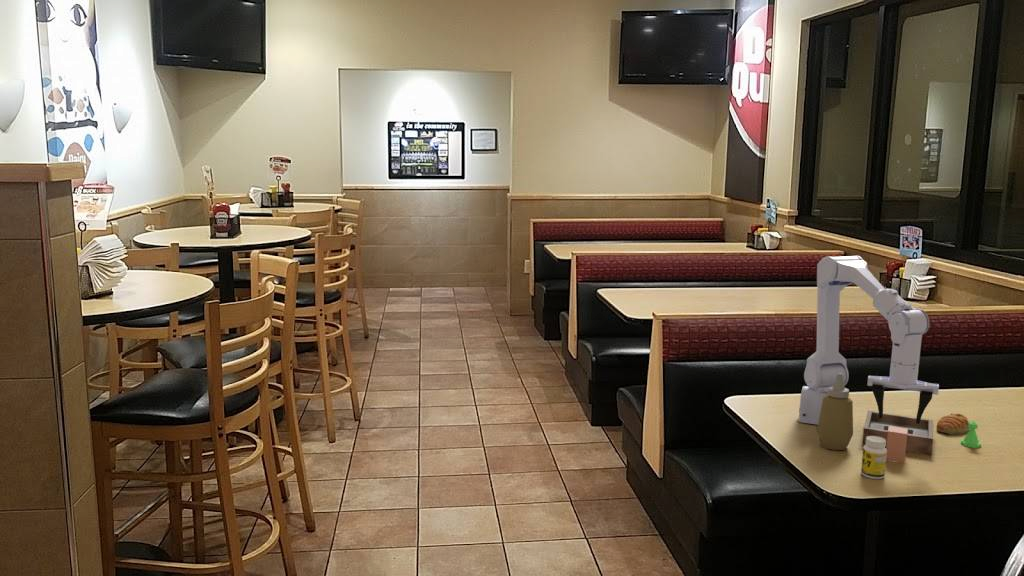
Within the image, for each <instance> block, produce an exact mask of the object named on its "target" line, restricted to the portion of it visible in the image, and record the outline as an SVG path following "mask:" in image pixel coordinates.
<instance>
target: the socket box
mask: <svg viewBox="0 0 1024 576" xmlns="http://www.w3.org/2000/svg"><path fill="white" fill-rule="evenodd" d="M916 418H917V416H916V417H914V416H910V415H909V416H908V415H907V416H906V415H901V414H895V413H889V412H888V413H887V412H883V417H882V418H879V411H873V410H867V413H866V417H865V421H864V425H863V429H862V430H863V431H862V432H863V433H862V442H861V444H862V445H866V437H867V436H878V437H882V438H884V439H885V440H886V446H887V436H888V428H889V426H893V427H900V428H906V429H908V432H907V442H906V452H909V451H911V452H910V453H915V452H917V453H916V454H921V453H922V455H927V456H932V454H933V453H932V452H933V443H934V419H931V418H922V417H921V419H920V424H917V423H916Z"/></svg>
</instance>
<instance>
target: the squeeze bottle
mask: <svg viewBox="0 0 1024 576" xmlns="http://www.w3.org/2000/svg"><path fill="white" fill-rule="evenodd" d="M849 396H850V390H849V388H846V387H845V386H844V380H843V374H840V373H838V374H837V376H836V379H835V382H834V386H831V387H829V388H828V395H826V396H825V397H824V398H823V402H822V407H821V412H820V417H819V422H818V425H817V429H816V432H817V435H818V438H819V442H820V445H821V447H823V448H825V449H828V450H832V451H833V450H834V451H844V450H847V448H848V446H849V444H850V442H851V440H852V437H854V412H853V411H854V409H853V407H854V406H853V405H854V404H853V400H852V399H851V398H850V397H849Z"/></svg>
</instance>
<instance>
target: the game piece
mask: <svg viewBox="0 0 1024 576" xmlns="http://www.w3.org/2000/svg"><path fill="white" fill-rule="evenodd" d="M968 428H970V430H968V431H967V433H966V435H965V437H964V438H962V439H961V440H960V444H961V445H962V446H964V447H968V448H972V449H973V448H975V449H977V448H980V447H982V443H981V442H980V441H979V438H978V435H977V433H976V432H977V431H976V429H978V428H979V426H978V422H976V421H972V420H971V421H969V423H968Z"/></svg>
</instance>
